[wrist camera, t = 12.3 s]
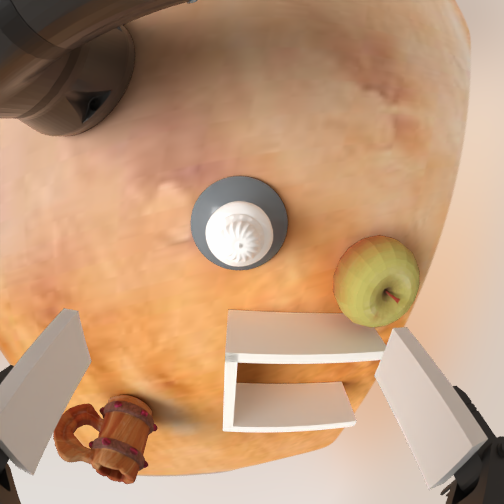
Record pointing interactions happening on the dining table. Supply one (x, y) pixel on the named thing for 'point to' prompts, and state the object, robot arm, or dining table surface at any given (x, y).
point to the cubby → (292, 352)
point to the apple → (376, 281)
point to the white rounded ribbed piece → (239, 233)
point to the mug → (108, 437)
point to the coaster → (238, 191)
